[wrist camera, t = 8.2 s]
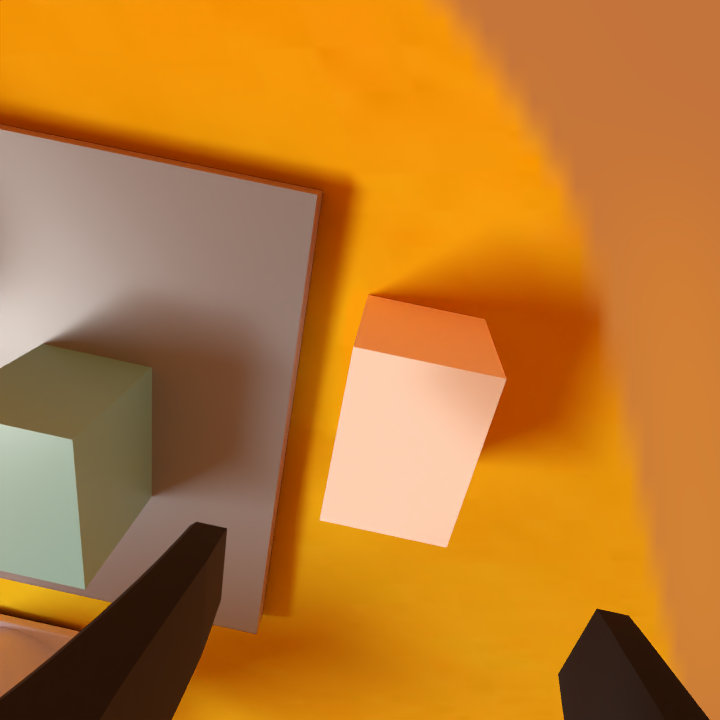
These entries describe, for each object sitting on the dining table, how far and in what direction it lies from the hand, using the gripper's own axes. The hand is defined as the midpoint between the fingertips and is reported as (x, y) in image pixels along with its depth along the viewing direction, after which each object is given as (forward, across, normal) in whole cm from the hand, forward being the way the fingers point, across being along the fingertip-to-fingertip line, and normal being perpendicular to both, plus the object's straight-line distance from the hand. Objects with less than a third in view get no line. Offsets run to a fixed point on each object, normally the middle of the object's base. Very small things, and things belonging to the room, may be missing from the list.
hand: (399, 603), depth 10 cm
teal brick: (+8, +11, +4) cm, 14 cm away
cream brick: (+9, 0, 0) cm, 9 cm away
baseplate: (+9, +11, +4) cm, 15 cm away
